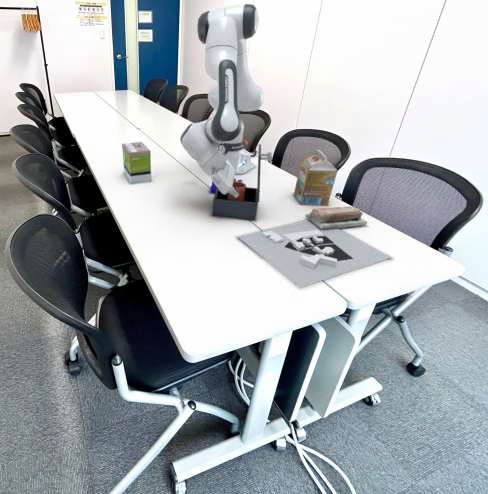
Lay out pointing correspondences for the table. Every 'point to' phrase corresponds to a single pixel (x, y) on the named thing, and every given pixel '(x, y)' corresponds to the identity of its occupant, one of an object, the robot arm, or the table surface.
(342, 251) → the architectural model
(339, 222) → the packaged product
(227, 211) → the dark grey open box
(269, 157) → the lid
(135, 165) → the tea box
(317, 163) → the milk carton
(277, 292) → the table surface
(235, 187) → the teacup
